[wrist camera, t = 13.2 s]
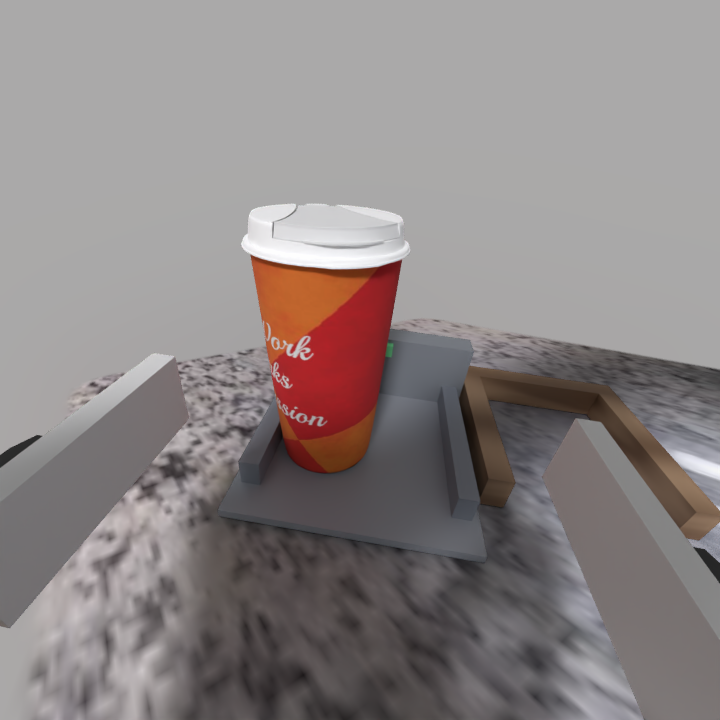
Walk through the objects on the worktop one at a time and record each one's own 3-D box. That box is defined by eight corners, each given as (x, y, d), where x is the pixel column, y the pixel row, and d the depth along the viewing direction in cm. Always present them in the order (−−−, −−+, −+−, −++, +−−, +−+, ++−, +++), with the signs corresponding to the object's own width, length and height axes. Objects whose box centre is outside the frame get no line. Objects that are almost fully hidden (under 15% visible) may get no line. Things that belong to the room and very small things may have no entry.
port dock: (294, 372, 32) (294, 315, 29) (452, 396, 31) (469, 339, 28) (218, 516, 19) (202, 440, 16) (484, 563, 18) (522, 492, 15)
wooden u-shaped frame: (453, 385, 33) (459, 364, 31) (596, 406, 32) (608, 385, 30) (477, 503, 21) (488, 478, 20) (699, 540, 21) (725, 517, 19)
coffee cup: (265, 411, 26) (239, 200, 18) (365, 397, 28) (381, 203, 20) (272, 504, 19) (234, 230, 11) (403, 476, 21) (448, 230, 13)
